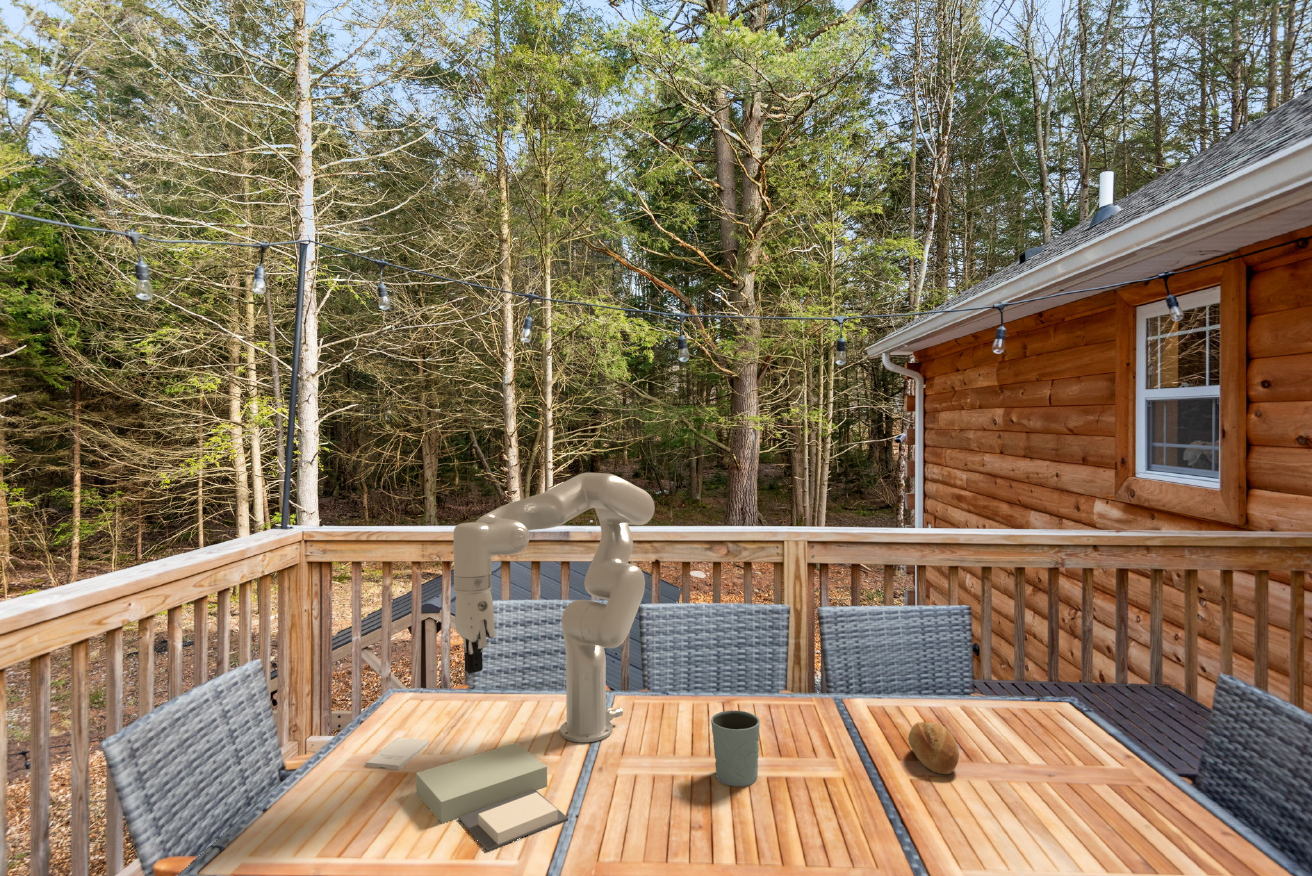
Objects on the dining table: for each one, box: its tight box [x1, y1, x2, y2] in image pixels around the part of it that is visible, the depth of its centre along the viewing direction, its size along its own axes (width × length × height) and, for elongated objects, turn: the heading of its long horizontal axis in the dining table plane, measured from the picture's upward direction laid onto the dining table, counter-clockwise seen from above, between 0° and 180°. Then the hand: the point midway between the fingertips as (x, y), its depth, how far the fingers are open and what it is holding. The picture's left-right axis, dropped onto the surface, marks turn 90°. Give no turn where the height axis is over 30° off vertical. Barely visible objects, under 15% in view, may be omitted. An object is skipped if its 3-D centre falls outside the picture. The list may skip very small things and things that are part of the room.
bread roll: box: [907, 720, 960, 775], centre depth 151 cm, size 10×15×8 cm, turn 175°
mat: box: [457, 790, 569, 853], centre depth 129 cm, size 16×13×1 cm
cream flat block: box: [478, 791, 559, 845], centre depth 127 cm, size 12×8×2 cm, turn 129°
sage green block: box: [415, 742, 548, 824], centre depth 140 cm, size 22×14×4 cm, turn 128°
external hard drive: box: [364, 737, 430, 771], centre depth 156 cm, size 2×8×12 cm
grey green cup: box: [710, 710, 761, 788], centre depth 145 cm, size 10×10×12 cm
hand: (473, 671), depth 143 cm, fingers closed
